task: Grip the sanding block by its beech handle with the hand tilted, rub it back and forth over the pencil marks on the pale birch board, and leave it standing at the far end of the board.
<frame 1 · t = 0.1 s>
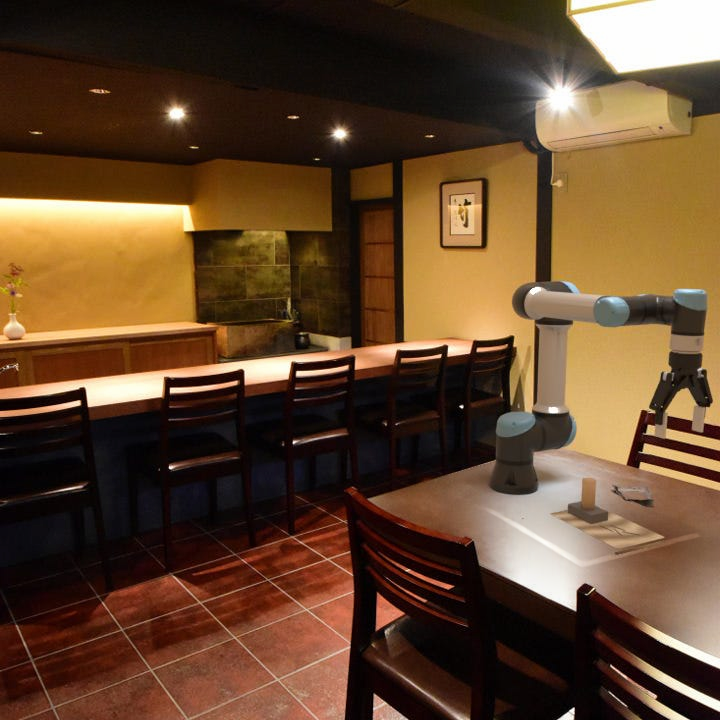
hand: (679, 434, 167), 28 cm above the table, tool pointing down, fingers open, 13 cm apart
birch board: (604, 530, 177), on the table
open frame: (633, 500, 200), on the table
sanding block: (587, 516, 182), point 1 cm above the table, touching birch board
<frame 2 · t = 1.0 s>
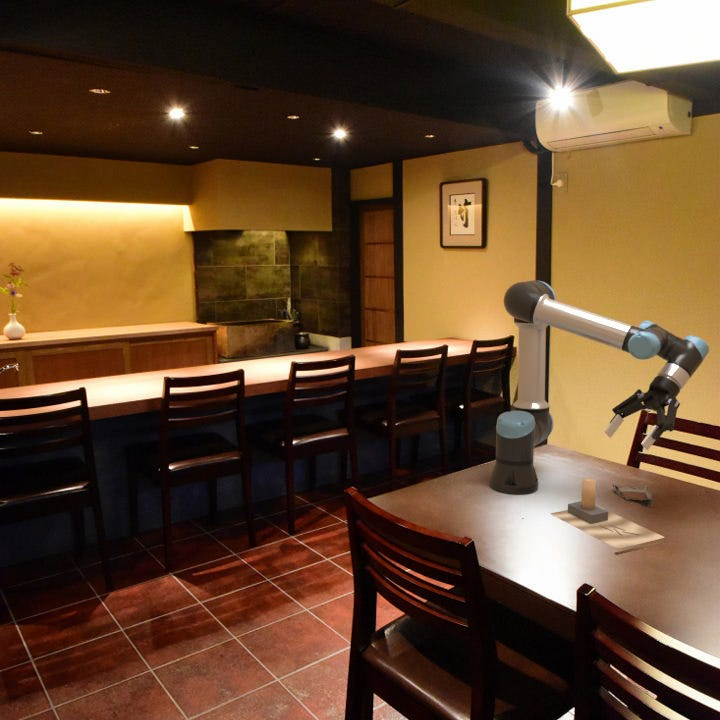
hand: (625, 440, 184), 22 cm above the table, tool tilted 45°, fingers open, 13 cm apart
nothing on the table moved.
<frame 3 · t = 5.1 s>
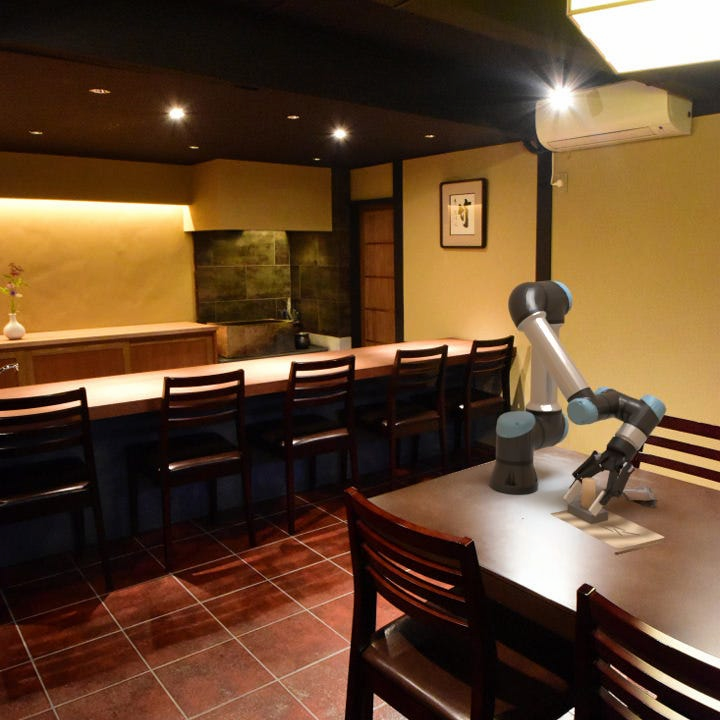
hand: (579, 506, 181), 5 cm above the table, tool tilted 45°, fingers closed on sanding block, 9 cm apart
sanding block: (587, 516, 182), point 2 cm above the table, touching birch board, gripper
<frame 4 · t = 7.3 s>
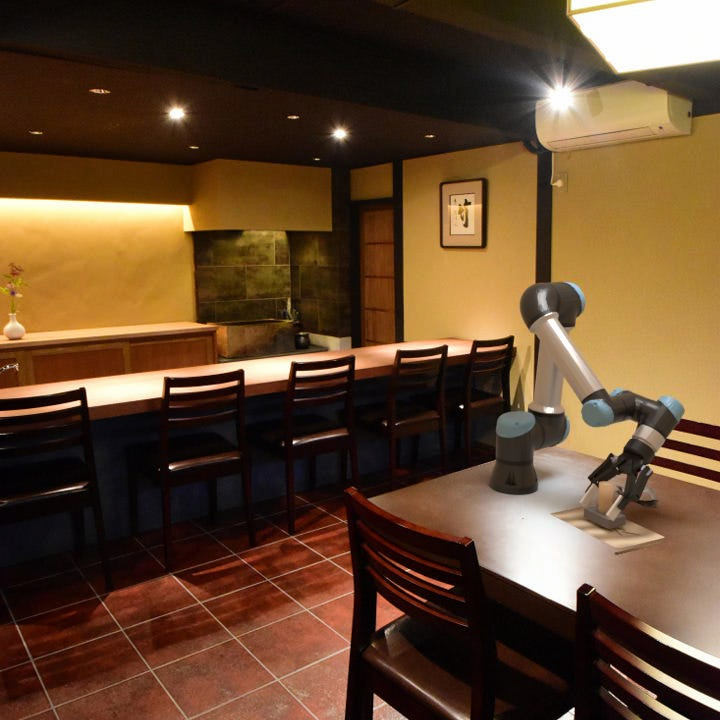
hand: (595, 511, 175), 6 cm above the table, tool tilted 45°, fingers closed on sanding block, 9 cm apart
sanding block: (604, 521, 177), point 2 cm above the table, touching gripper
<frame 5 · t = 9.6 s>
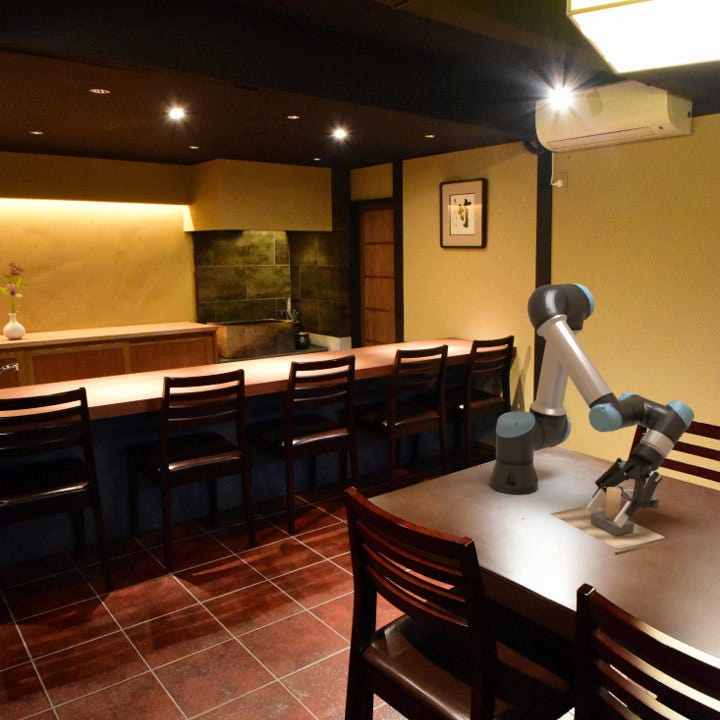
hand: (603, 517, 173), 5 cm above the table, tool tilted 45°, fingers closed on sanding block, 9 cm apart
sanding block: (611, 527, 174), point 2 cm above the table, touching gripper
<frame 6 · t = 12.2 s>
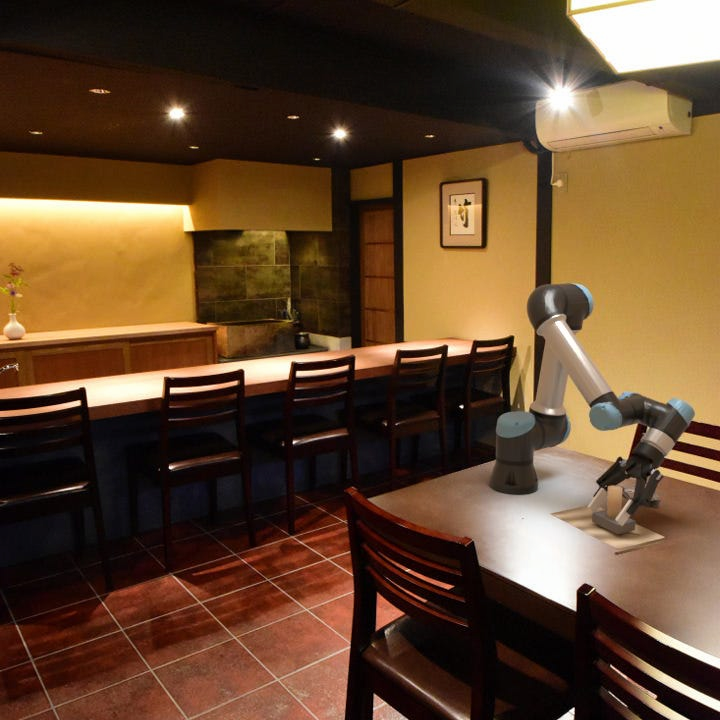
hand: (604, 516, 172), 5 cm above the table, tool tilted 45°, fingers closed on sanding block, 9 cm apart
sanding block: (613, 525, 174), point 2 cm above the table, touching gripper
when the fingers open (5 cm above the table, at t = 14.1 s): sanding block stays where it is, resting on birch board.
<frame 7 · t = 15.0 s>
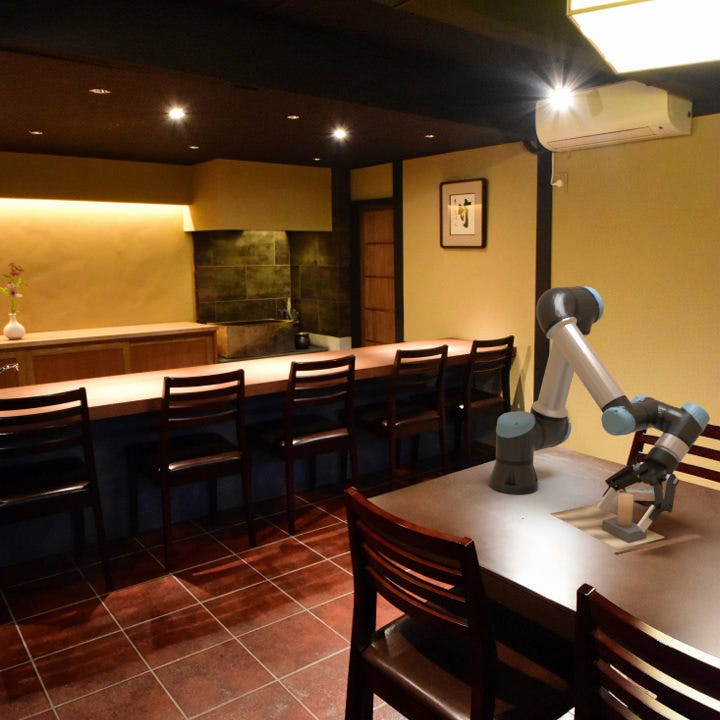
hand: (619, 518, 169), 6 cm above the table, tool tilted 45°, fingers open, 13 cm apart
sanding block: (623, 533, 171), point 2 cm above the table, touching birch board
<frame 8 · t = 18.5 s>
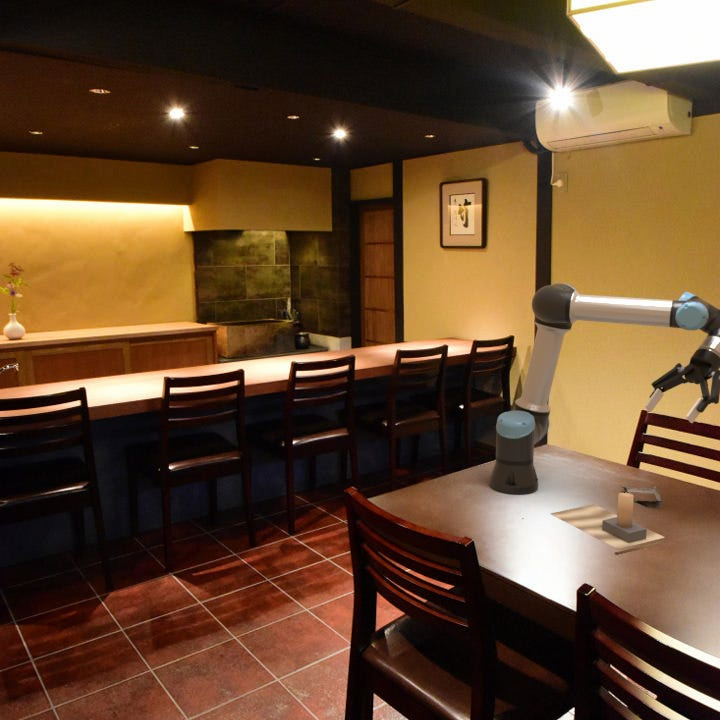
hand: (667, 414, 180), 30 cm above the table, tool tilted 45°, fingers open, 13 cm apart
at the end: sanding block inside the target area (0.0 cm from its centre), point 1.6 cm above the table; sanding block tilted 0°; the gripper is holding nothing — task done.
